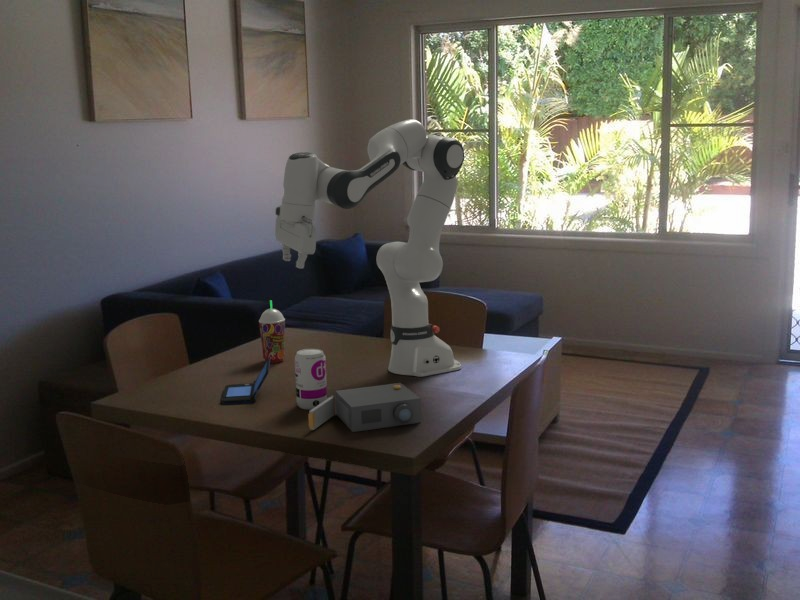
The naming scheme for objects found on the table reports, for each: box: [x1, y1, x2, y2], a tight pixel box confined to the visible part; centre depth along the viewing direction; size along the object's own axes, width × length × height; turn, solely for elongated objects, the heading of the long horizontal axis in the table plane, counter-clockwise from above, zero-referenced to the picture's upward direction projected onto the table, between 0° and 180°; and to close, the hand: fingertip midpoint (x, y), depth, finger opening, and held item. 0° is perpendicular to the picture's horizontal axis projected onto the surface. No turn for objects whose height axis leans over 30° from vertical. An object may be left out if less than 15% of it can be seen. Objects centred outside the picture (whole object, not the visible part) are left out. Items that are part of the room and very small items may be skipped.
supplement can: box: [294, 348, 328, 411], centre depth 241 cm, size 8×8×15 cm
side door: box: [307, 395, 336, 431], centre depth 228 cm, size 1×14×5 cm, turn 159°
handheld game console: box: [220, 358, 271, 405], centre depth 253 cm, size 16×13×9 cm
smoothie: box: [258, 299, 286, 364], centre depth 288 cm, size 8×8×20 cm
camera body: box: [334, 382, 422, 433], centre depth 229 cm, size 18×17×7 cm
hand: (293, 264), depth 243 cm, fingers open, 8 cm apart
